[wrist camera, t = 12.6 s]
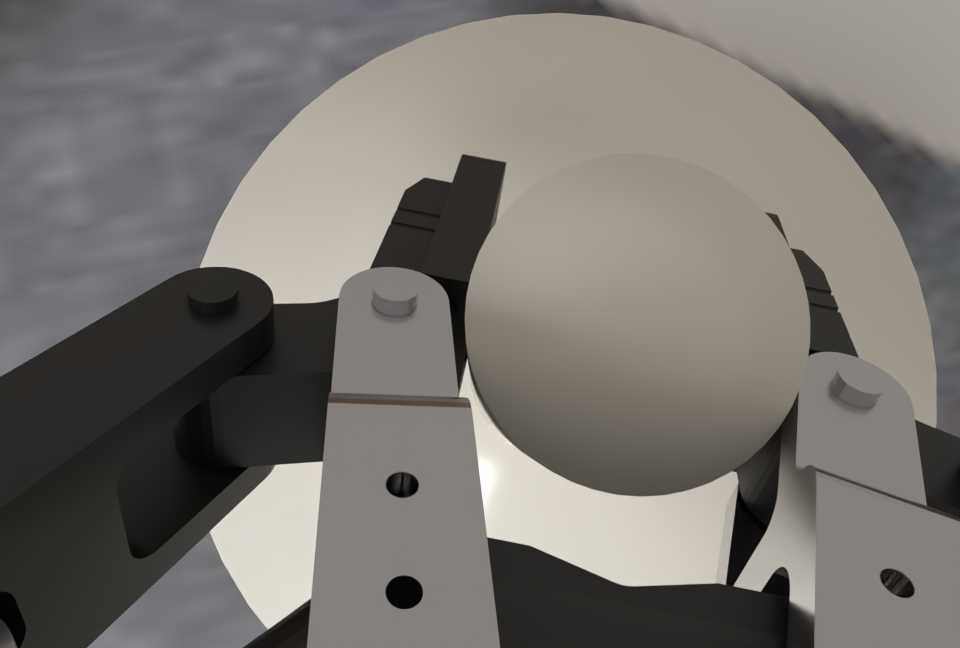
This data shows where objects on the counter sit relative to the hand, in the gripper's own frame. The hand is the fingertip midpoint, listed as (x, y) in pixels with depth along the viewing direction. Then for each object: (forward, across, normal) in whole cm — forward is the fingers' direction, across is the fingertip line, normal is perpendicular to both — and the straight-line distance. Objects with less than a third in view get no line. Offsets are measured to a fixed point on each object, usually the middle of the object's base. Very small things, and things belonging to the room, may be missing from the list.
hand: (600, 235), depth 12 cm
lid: (+2, 0, +4) cm, 5 cm away
